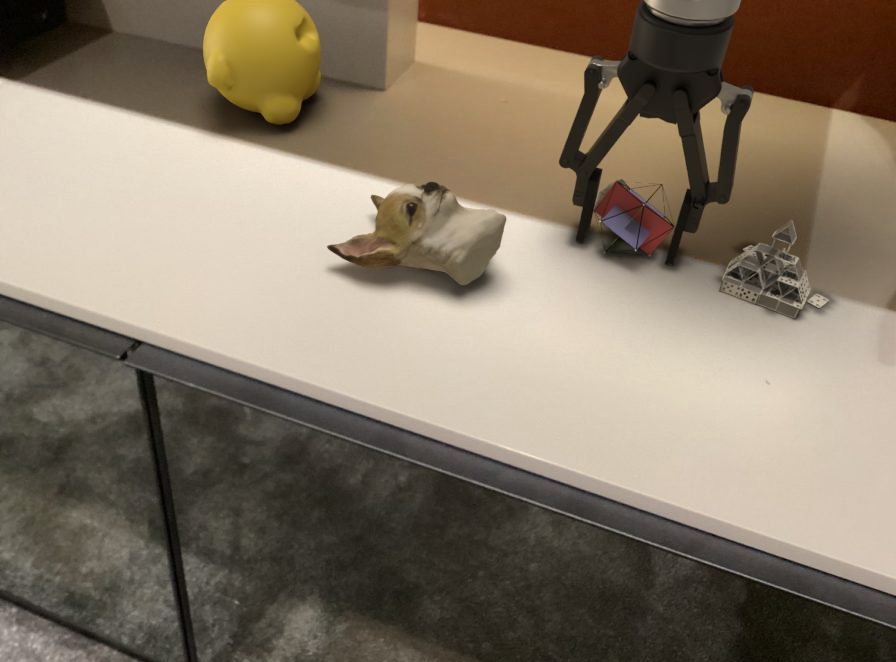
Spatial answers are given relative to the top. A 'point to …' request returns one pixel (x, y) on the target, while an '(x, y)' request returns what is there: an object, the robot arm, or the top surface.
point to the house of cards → (771, 277)
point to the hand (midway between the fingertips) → (626, 244)
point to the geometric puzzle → (632, 217)
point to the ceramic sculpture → (427, 234)
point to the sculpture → (263, 56)
